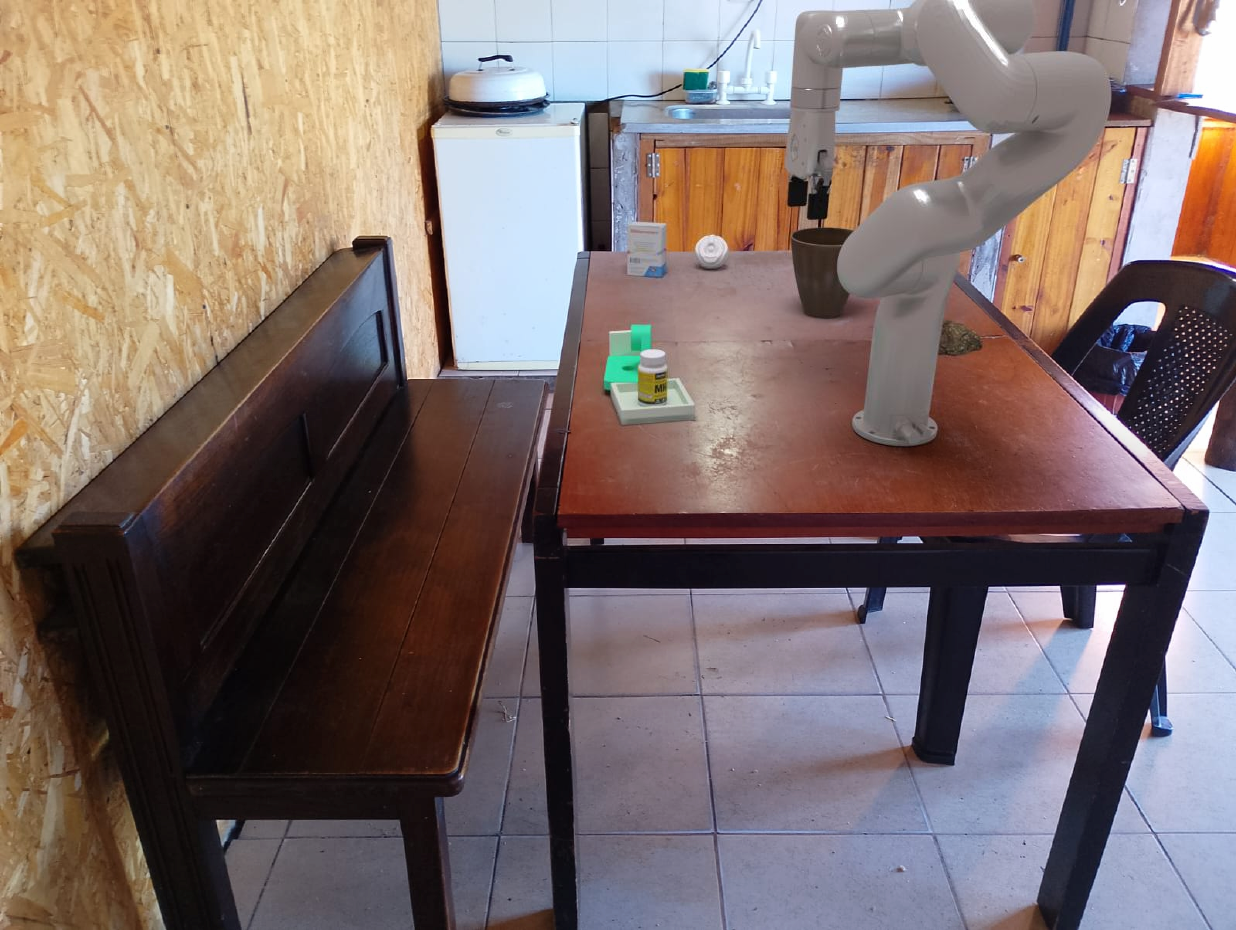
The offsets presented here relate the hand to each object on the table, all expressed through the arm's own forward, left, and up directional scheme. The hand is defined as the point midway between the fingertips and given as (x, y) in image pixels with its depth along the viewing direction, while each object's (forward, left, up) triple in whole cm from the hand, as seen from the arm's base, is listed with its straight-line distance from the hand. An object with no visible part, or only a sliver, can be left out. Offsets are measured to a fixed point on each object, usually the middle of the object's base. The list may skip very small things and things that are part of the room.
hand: (806, 212), depth 156 cm
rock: (+11, -33, -29) cm, 45 cm away
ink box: (+69, +13, -28) cm, 76 cm away
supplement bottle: (-9, +27, -28) cm, 39 cm away
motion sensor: (+71, -3, -28) cm, 77 cm away
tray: (-9, +27, -28) cm, 40 cm away
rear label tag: (+9, +28, -28) cm, 41 cm away
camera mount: (+2, +29, -28) cm, 41 cm away
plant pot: (+33, -17, -28) cm, 47 cm away
